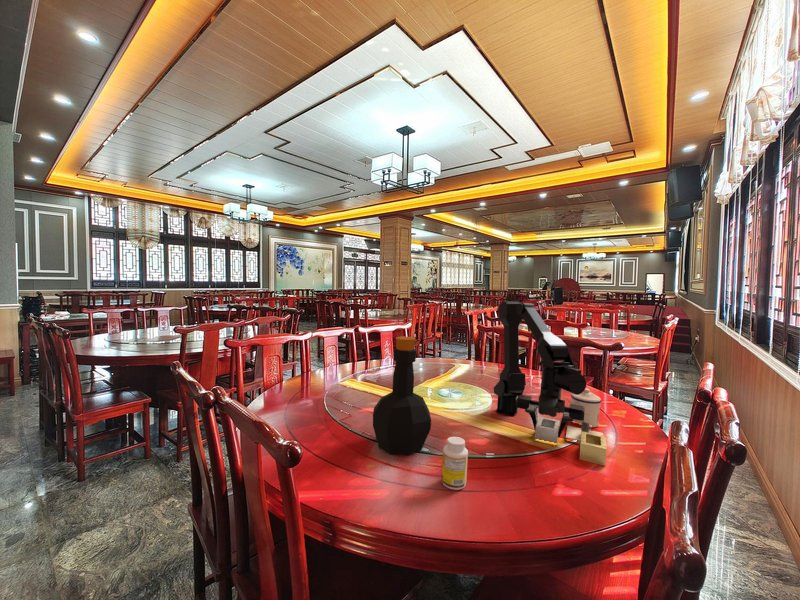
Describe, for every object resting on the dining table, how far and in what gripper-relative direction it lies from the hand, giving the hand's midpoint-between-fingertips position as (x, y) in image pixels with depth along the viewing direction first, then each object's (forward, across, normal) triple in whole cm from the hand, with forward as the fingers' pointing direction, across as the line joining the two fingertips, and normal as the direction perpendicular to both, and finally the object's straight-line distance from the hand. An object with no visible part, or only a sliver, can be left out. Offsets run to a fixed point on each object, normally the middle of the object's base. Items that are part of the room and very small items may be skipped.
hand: (547, 434), depth 110 cm
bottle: (+1, -35, -29) cm, 45 cm away
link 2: (+1, +12, -5) cm, 13 cm away
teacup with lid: (+1, +9, +22) cm, 24 cm away
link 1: (+1, 0, 0) cm, 1 cm away
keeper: (+1, +10, +6) cm, 12 cm away
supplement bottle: (+1, -16, -39) cm, 42 cm away
